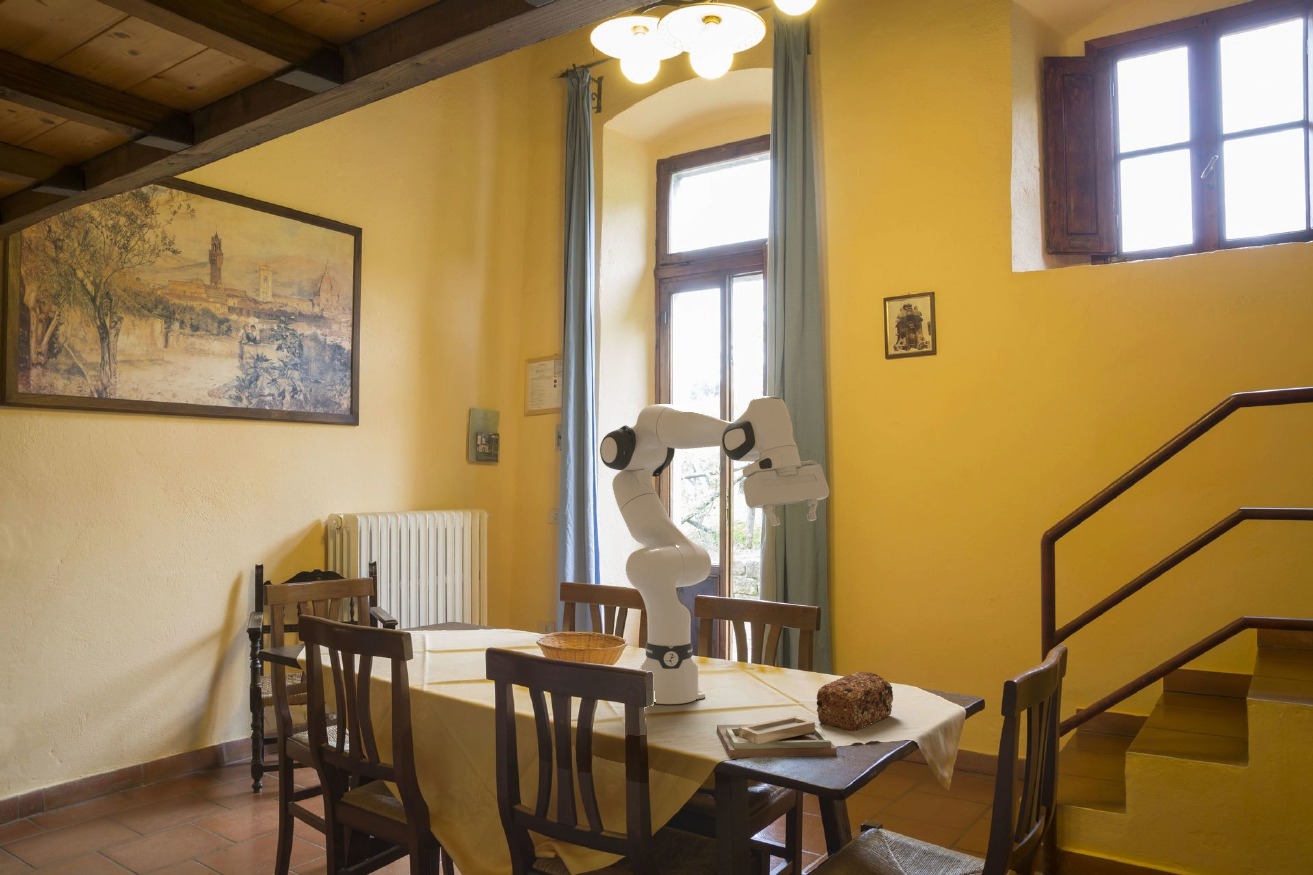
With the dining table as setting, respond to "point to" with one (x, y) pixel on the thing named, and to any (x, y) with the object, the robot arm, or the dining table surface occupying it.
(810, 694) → the dining table surface
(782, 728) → the frame
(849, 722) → the bread
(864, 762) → the dining table surface
